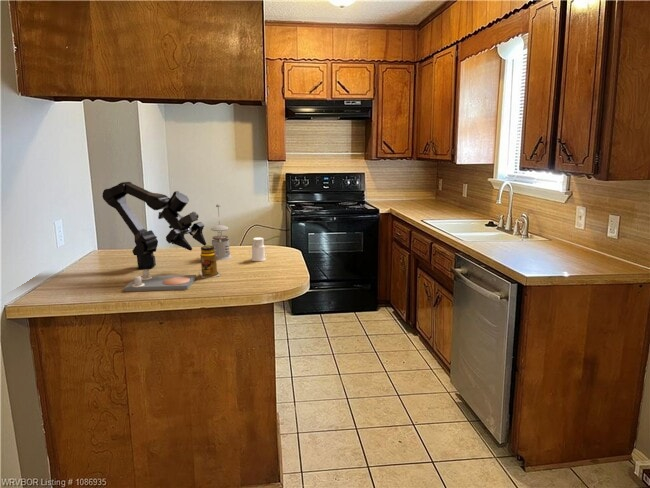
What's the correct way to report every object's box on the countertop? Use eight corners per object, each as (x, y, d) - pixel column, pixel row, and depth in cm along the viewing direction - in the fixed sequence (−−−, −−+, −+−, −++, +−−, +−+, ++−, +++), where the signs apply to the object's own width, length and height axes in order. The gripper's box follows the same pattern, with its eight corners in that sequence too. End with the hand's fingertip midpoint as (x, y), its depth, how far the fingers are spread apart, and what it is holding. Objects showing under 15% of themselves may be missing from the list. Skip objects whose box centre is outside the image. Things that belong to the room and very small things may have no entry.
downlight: (250, 262, 213) (250, 240, 211) (248, 258, 220) (248, 237, 217) (268, 261, 215) (268, 239, 213) (265, 257, 222) (265, 236, 220)
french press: (210, 260, 217) (206, 206, 211) (210, 254, 228) (206, 202, 222) (232, 259, 219) (229, 205, 213) (231, 253, 230) (228, 201, 224)
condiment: (202, 278, 190) (200, 249, 187) (199, 273, 198) (196, 245, 195) (220, 276, 193) (218, 247, 190) (216, 271, 200) (214, 243, 198)
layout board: (124, 291, 175) (123, 279, 174) (137, 279, 189) (136, 268, 188) (187, 289, 176) (186, 277, 175) (195, 278, 190) (195, 267, 189)
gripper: (168, 209, 184) (194, 239, 183) (198, 203, 201) (222, 230, 199) (154, 228, 189) (179, 257, 187) (185, 220, 206) (208, 247, 204)
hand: (198, 247), depth 194 cm, fingers open, 9 cm apart
